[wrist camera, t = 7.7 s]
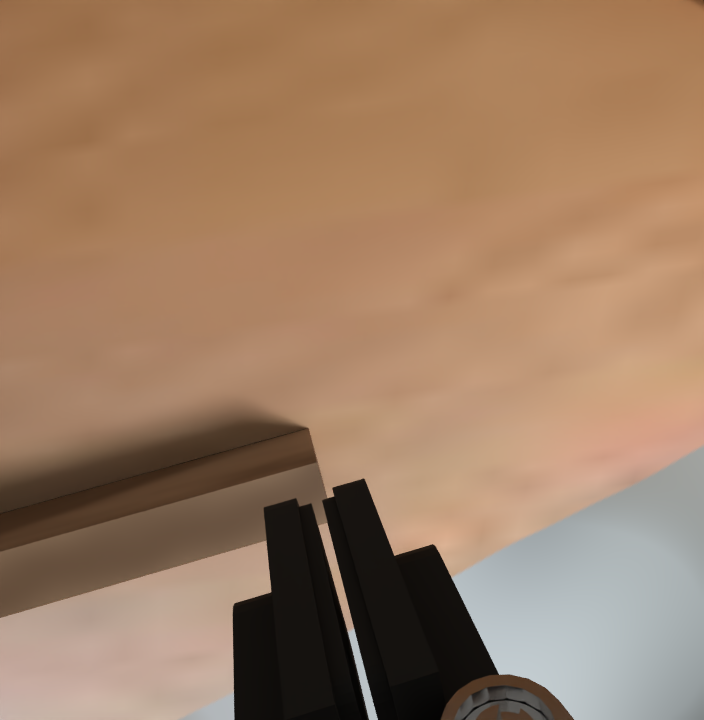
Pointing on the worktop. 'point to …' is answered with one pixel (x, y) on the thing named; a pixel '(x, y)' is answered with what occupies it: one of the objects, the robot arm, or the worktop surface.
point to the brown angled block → (152, 521)
